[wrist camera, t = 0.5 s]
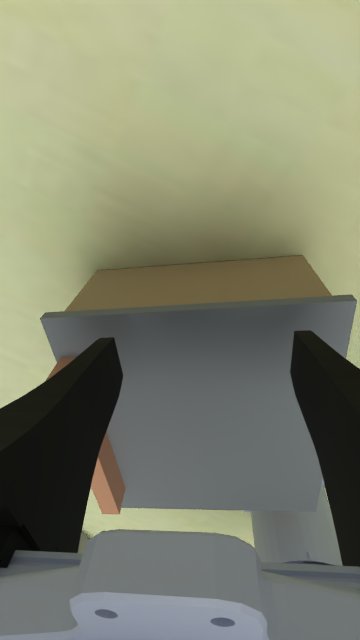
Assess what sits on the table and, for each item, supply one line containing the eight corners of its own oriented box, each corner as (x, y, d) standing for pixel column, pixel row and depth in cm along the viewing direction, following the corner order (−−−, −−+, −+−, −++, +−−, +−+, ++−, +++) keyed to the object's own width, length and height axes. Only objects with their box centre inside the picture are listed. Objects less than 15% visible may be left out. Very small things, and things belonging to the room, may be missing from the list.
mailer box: (287, 424, 29) (305, 495, 23) (136, 426, 31) (120, 492, 25) (302, 255, 21) (336, 301, 15) (96, 270, 22) (59, 317, 17)
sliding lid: (313, 503, 23) (323, 539, 21) (114, 499, 25) (106, 532, 23) (351, 294, 15) (374, 321, 13) (45, 312, 16) (21, 338, 14)
